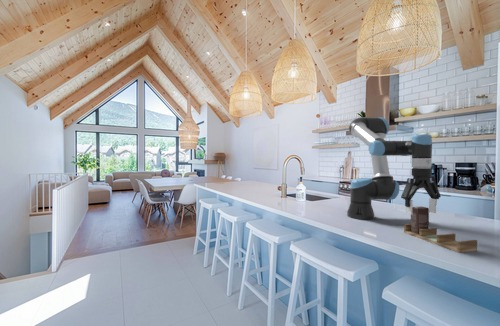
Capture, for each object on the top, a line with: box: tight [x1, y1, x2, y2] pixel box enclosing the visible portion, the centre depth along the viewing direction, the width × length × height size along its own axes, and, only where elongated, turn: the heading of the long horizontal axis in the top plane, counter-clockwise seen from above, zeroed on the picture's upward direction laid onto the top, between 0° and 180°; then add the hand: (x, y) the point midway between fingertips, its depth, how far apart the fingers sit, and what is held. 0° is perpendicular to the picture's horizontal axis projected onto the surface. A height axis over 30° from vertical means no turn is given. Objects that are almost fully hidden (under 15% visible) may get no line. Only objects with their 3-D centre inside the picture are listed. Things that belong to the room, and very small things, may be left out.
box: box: [410, 206, 430, 234], centre depth 109 cm, size 6×4×12 cm
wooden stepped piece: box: [403, 223, 478, 254], centre depth 101 cm, size 24×9×4 cm, turn 13°
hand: (420, 213), depth 108 cm, fingers open, 13 cm apart
